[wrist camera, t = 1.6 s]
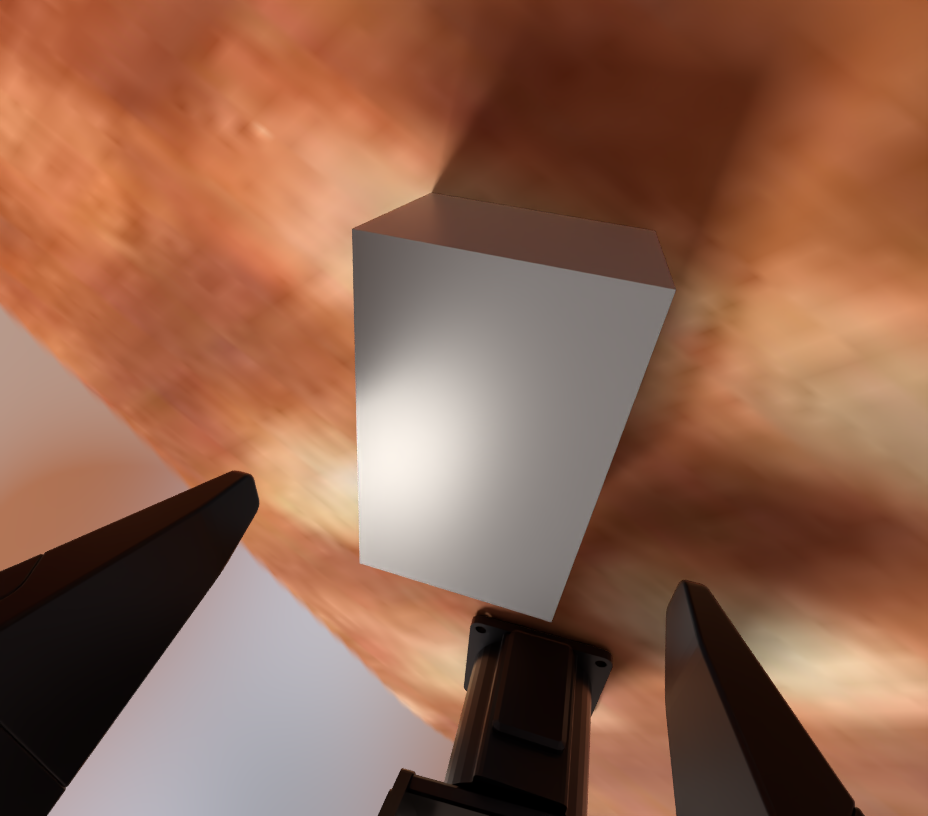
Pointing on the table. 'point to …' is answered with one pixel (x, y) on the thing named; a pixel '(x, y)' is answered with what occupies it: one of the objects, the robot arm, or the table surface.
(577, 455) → the panel
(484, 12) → the table surface
